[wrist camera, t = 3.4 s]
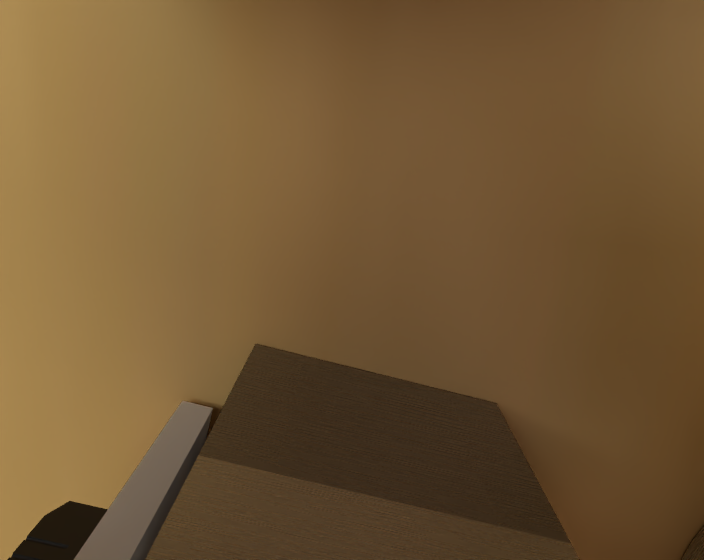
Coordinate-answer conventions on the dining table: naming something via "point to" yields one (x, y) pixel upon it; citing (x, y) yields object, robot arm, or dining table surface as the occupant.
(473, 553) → the grey rectangular block
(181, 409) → the robot arm
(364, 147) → the dining table surface
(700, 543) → the metal ladle
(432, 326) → the dining table surface
